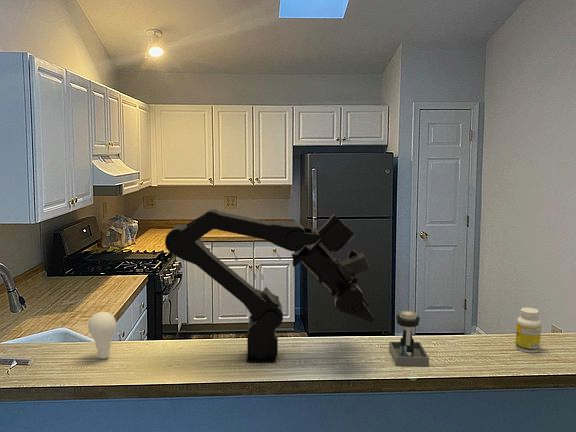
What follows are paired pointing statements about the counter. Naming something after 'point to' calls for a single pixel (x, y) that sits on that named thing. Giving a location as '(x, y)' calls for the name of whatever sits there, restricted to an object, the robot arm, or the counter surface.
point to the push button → (407, 331)
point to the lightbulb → (102, 332)
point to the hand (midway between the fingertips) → (370, 313)
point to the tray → (416, 360)
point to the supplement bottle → (528, 331)
